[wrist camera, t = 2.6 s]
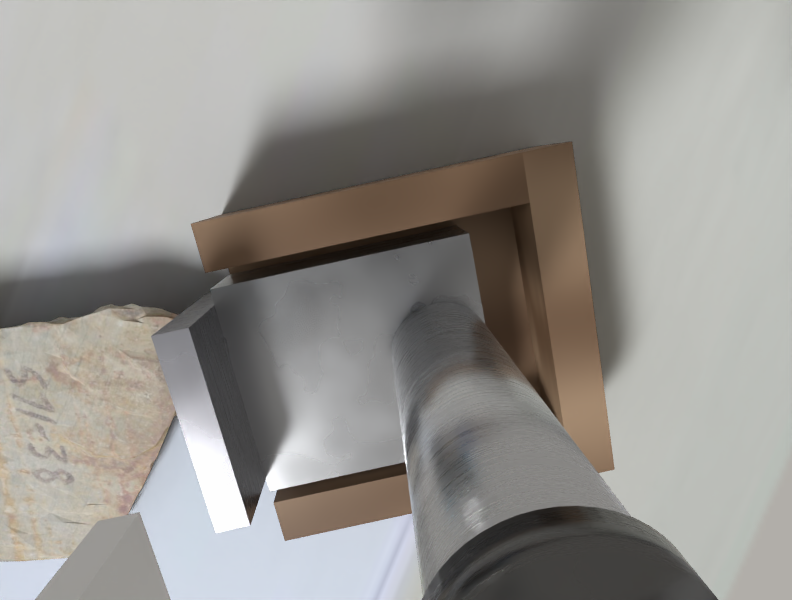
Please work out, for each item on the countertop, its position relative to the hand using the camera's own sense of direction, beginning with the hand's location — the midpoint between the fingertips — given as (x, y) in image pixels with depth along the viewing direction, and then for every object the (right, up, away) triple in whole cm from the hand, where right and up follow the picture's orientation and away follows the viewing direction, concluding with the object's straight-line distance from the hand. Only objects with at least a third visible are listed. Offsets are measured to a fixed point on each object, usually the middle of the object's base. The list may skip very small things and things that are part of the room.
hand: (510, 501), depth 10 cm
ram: (-4, +2, +10) cm, 11 cm away
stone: (-17, 0, +12) cm, 21 cm away
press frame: (-2, +2, +11) cm, 12 cm away
